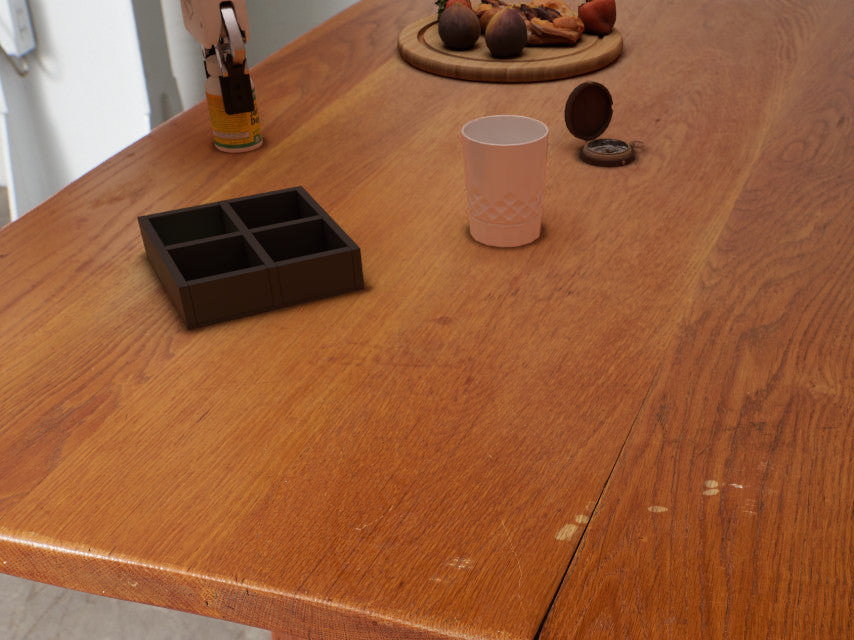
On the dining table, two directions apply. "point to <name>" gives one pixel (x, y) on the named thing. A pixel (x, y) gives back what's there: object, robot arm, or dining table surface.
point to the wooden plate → (513, 40)
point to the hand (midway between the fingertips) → (232, 102)
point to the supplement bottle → (230, 116)
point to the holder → (250, 256)
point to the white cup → (505, 178)
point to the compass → (596, 126)
